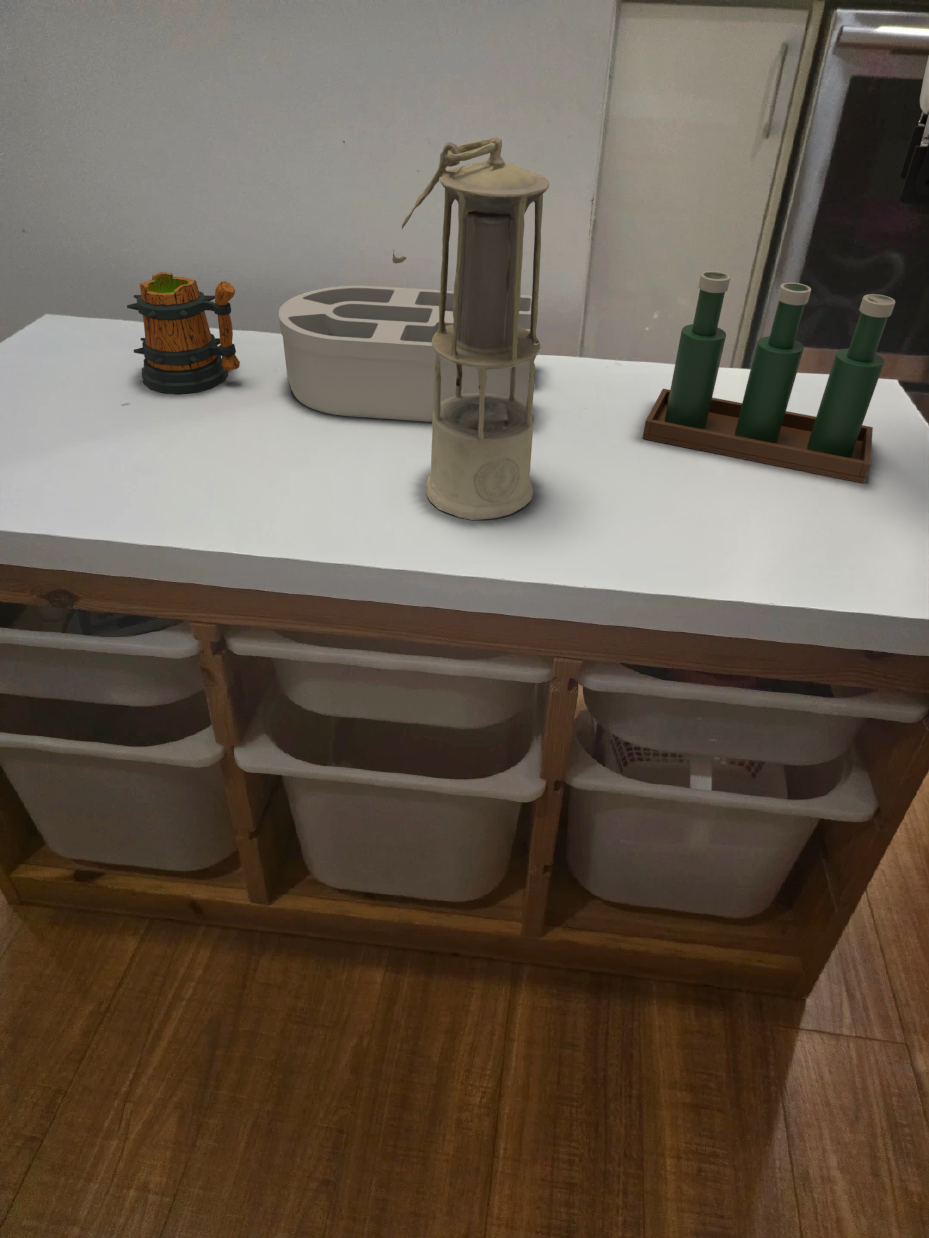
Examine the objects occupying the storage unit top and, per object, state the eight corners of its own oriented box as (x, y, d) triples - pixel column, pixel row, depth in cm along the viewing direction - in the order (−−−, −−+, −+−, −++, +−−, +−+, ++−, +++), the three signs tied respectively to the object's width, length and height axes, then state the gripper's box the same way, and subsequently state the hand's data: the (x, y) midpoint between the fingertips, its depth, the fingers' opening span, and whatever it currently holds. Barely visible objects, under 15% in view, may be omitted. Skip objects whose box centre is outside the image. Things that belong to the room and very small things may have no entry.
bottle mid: (768, 426, 92) (809, 279, 82) (783, 446, 89) (828, 295, 79) (728, 427, 92) (764, 279, 82) (742, 447, 88) (782, 295, 79)
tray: (866, 445, 91) (873, 427, 89) (863, 483, 84) (870, 464, 83) (659, 405, 97) (662, 388, 95) (642, 438, 91) (645, 420, 89)
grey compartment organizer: (527, 431, 91) (533, 352, 86) (269, 413, 93) (259, 335, 87) (533, 368, 104) (539, 296, 98) (306, 353, 106) (300, 281, 100)
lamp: (518, 528, 77) (548, 156, 58) (382, 503, 79) (367, 139, 60) (543, 473, 84) (576, 128, 65) (418, 452, 87) (415, 115, 68)
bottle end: (698, 413, 94) (730, 268, 84) (711, 432, 91) (745, 283, 81) (659, 414, 94) (686, 268, 84) (670, 433, 90) (700, 283, 81)
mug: (122, 387, 97) (97, 283, 90) (171, 353, 104) (151, 255, 97) (225, 404, 94) (208, 299, 87) (267, 369, 102) (255, 269, 94)
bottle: (840, 440, 90) (890, 291, 80) (858, 460, 87) (913, 307, 77) (800, 441, 90) (846, 291, 80) (817, 461, 86) (867, 308, 77)
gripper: (1081, -71, 54) (974, 221, 64) (1048, -68, 66) (963, 176, 77) (951, -74, 56) (868, 209, 67) (943, -70, 68) (874, 167, 79)
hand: (919, 191), depth 72 cm, fingers open, 9 cm apart
